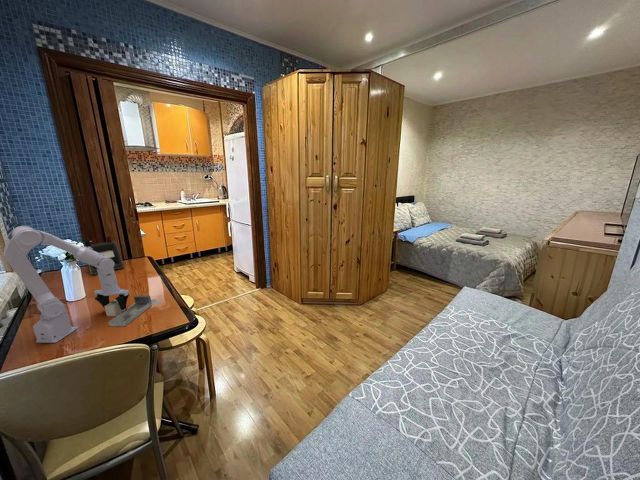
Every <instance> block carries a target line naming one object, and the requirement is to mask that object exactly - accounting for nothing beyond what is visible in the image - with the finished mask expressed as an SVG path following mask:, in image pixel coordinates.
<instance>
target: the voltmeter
mask: <svg viewBox="0 0 640 480" xmlns="http://www.w3.org/2000/svg"><path fill="white" fill-rule="evenodd" d="M105 239H106V242H105V241H104V242H100V243H94V244H92V243H91V240H90V239H85V240H83V241H84V245H83V246H84V247H87V248H88V247H91V248H93V249H92V250H93V251H96V252H98V253H100V254H101V253H103V254H104V255H105V256H106V257H108V258H110V259H112V260H113V262H115V265H114V267H113V268H114V270H117V271H119V270H122V268H124V263H123V261H122V260H123V259H122V257H121V253H120V251H119V249H118V245H117V243H116V241H115V240H112V237H111V236H106V237H105ZM87 267H88V270H89V272H90V274H91V275H93V276H98V272H97V267H94V266H91V265H89V264H87Z"/></svg>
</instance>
